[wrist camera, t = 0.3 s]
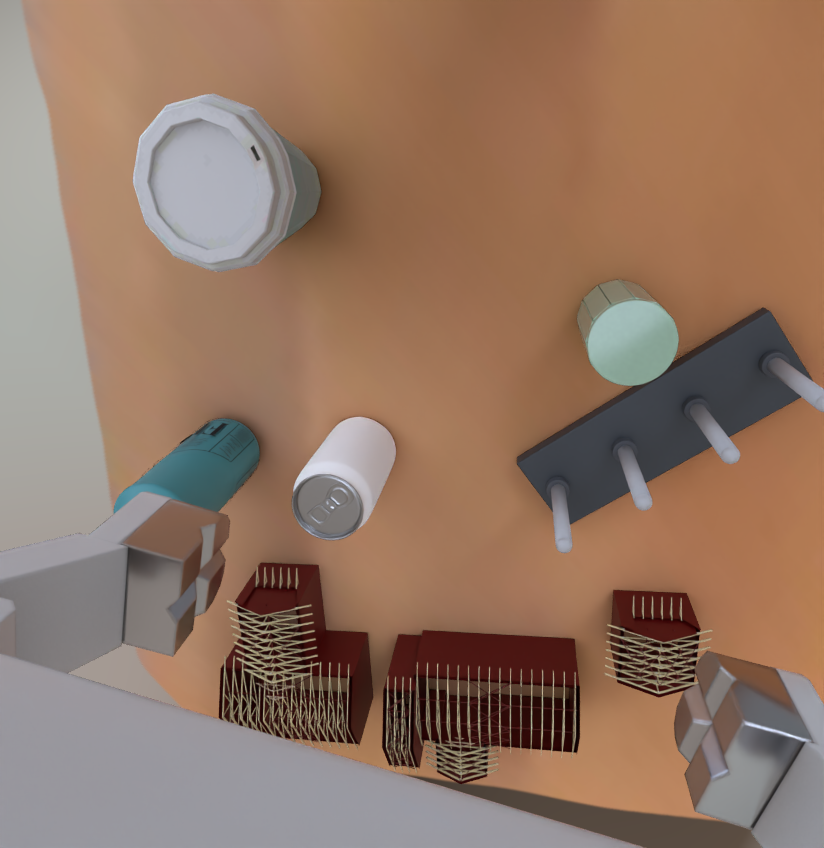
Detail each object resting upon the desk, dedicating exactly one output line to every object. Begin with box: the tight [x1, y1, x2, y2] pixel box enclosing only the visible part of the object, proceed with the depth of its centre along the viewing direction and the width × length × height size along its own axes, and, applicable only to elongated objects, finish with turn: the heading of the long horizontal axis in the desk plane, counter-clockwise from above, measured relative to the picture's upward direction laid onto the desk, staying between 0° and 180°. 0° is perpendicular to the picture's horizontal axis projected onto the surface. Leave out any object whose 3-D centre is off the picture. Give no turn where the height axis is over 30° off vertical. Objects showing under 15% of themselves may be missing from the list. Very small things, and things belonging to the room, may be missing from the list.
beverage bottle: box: [114, 418, 260, 513], centre depth 54 cm, size 6×7×20 cm
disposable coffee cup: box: [133, 94, 321, 272], centre depth 47 cm, size 11×11×15 cm
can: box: [292, 417, 396, 540], centre depth 56 cm, size 6×6×12 cm
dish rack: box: [517, 308, 824, 553], centre depth 51 cm, size 23×8×12 cm, turn 127°
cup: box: [577, 279, 679, 386], centre depth 50 cm, size 6×6×9 cm
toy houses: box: [219, 563, 713, 784], centre depth 63 cm, size 45×20×10 cm, turn 93°
